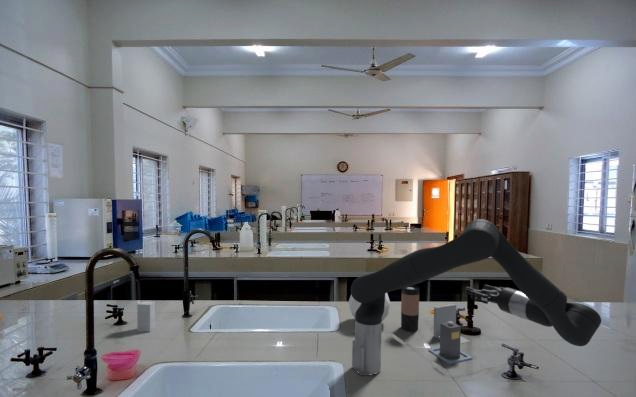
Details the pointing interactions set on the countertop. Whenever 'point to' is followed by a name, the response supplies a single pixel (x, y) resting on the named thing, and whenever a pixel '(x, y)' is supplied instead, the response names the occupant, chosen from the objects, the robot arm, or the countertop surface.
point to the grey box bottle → (450, 339)
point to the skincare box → (146, 316)
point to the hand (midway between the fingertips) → (475, 288)
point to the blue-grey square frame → (452, 360)
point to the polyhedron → (355, 305)
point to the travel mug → (410, 308)
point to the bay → (445, 318)
